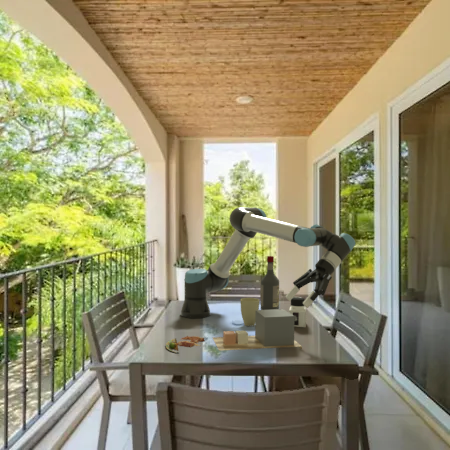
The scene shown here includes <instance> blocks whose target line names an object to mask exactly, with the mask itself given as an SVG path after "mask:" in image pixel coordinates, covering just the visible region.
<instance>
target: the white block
mask: <svg viewBox="0 0 450 450" xmlns="http://www.w3.org/2000/svg"><path fill="white" fill-rule="evenodd" d="M234 332H235V334H236V343H237V344H248V336H249V333H248V331H246V330H235V331H234Z"/></svg>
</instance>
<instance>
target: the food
mask: <svg viewBox="0 0 450 450" xmlns="http://www.w3.org/2000/svg"><path fill="white" fill-rule="evenodd" d="M181 340H182V341H181ZM181 340H180V341H179V340H177V338H172V339H170V340H168V341H167V342H166V343H165V348H166V350H168V351H169V352H171V353H176V354H179V352H180V351H179V347H184V348H192V347H194V346H196V347H198V346H199V347H200V346H202V345H203V342H205V341H206V340H205V337H201V336H197V335H192V336H189V335H186V336H184V337H181ZM199 342H200V343H201V344H199ZM174 350H175V351H174Z"/></svg>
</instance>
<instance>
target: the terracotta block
mask: <svg viewBox="0 0 450 450" xmlns="http://www.w3.org/2000/svg"><path fill="white" fill-rule="evenodd" d="M222 337H223V342H224V344H225V345H232V344H235V342H236V334H235V331H233V330H228V331H226V330H225V331H224V330H223V335H222Z"/></svg>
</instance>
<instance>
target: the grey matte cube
mask: <svg viewBox="0 0 450 450" xmlns="http://www.w3.org/2000/svg"><path fill="white" fill-rule="evenodd" d="M294 318H295V316H294V315H292V314H290V313H289V311H287V310H286V309H283V308H281V309H280V308H279V309H273V310H261V309H259V310H256V314H255V325H254V328H255V329H254V332H255V333H254V336H255V338H256V339H257V340H258V341H259V342H260V343H261V344H262V345H263V346H264V347H267V346H284V345H294V340H295V327H294Z"/></svg>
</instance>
